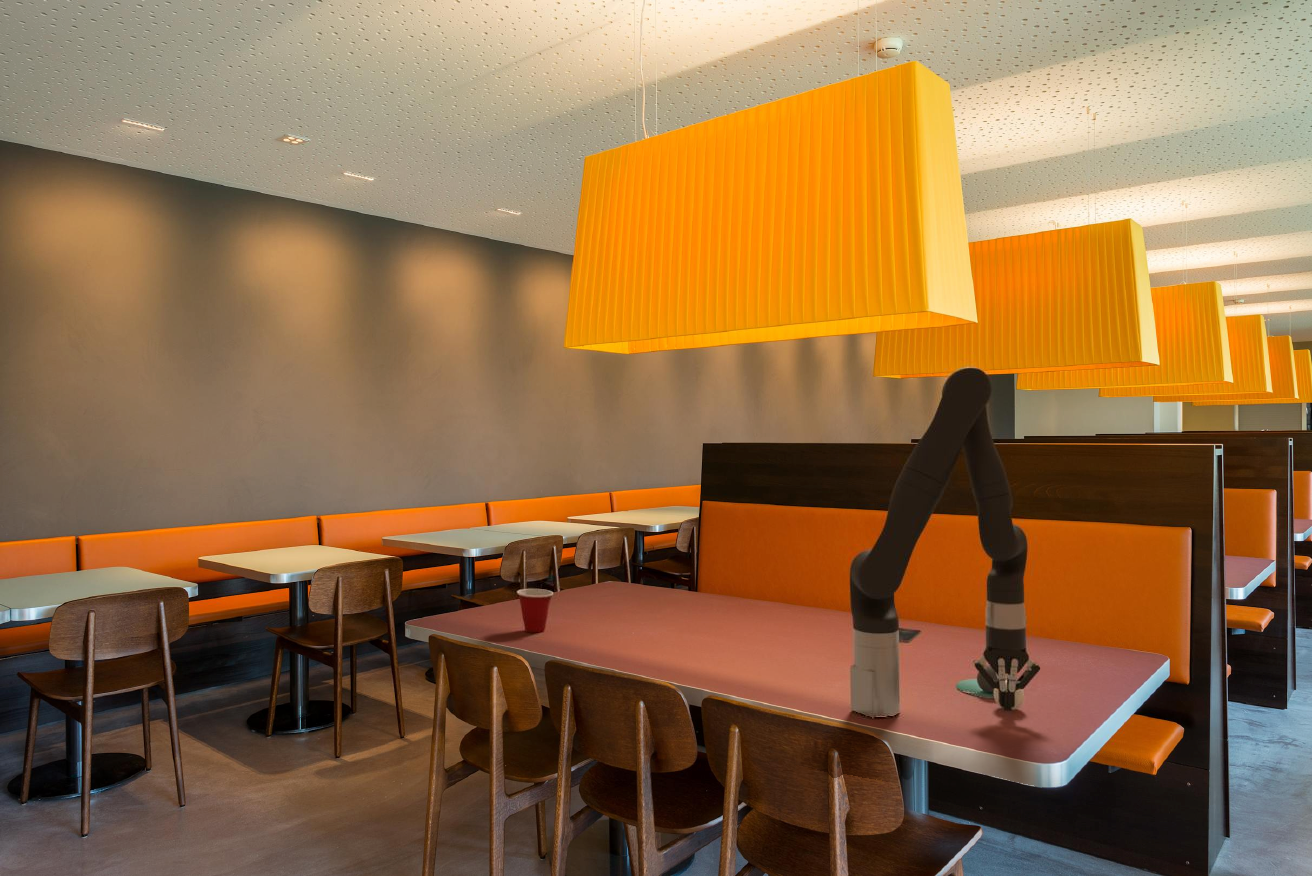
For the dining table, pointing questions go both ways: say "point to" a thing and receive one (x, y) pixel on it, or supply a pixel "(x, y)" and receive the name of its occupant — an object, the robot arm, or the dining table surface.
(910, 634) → the smartphone
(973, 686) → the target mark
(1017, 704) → the cue ball
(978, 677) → the object ball
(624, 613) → the dining table surface
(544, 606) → the plastic cup
